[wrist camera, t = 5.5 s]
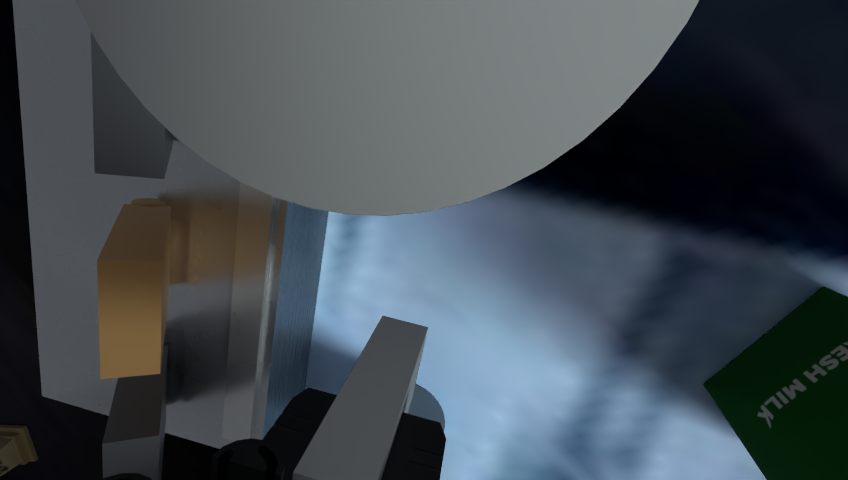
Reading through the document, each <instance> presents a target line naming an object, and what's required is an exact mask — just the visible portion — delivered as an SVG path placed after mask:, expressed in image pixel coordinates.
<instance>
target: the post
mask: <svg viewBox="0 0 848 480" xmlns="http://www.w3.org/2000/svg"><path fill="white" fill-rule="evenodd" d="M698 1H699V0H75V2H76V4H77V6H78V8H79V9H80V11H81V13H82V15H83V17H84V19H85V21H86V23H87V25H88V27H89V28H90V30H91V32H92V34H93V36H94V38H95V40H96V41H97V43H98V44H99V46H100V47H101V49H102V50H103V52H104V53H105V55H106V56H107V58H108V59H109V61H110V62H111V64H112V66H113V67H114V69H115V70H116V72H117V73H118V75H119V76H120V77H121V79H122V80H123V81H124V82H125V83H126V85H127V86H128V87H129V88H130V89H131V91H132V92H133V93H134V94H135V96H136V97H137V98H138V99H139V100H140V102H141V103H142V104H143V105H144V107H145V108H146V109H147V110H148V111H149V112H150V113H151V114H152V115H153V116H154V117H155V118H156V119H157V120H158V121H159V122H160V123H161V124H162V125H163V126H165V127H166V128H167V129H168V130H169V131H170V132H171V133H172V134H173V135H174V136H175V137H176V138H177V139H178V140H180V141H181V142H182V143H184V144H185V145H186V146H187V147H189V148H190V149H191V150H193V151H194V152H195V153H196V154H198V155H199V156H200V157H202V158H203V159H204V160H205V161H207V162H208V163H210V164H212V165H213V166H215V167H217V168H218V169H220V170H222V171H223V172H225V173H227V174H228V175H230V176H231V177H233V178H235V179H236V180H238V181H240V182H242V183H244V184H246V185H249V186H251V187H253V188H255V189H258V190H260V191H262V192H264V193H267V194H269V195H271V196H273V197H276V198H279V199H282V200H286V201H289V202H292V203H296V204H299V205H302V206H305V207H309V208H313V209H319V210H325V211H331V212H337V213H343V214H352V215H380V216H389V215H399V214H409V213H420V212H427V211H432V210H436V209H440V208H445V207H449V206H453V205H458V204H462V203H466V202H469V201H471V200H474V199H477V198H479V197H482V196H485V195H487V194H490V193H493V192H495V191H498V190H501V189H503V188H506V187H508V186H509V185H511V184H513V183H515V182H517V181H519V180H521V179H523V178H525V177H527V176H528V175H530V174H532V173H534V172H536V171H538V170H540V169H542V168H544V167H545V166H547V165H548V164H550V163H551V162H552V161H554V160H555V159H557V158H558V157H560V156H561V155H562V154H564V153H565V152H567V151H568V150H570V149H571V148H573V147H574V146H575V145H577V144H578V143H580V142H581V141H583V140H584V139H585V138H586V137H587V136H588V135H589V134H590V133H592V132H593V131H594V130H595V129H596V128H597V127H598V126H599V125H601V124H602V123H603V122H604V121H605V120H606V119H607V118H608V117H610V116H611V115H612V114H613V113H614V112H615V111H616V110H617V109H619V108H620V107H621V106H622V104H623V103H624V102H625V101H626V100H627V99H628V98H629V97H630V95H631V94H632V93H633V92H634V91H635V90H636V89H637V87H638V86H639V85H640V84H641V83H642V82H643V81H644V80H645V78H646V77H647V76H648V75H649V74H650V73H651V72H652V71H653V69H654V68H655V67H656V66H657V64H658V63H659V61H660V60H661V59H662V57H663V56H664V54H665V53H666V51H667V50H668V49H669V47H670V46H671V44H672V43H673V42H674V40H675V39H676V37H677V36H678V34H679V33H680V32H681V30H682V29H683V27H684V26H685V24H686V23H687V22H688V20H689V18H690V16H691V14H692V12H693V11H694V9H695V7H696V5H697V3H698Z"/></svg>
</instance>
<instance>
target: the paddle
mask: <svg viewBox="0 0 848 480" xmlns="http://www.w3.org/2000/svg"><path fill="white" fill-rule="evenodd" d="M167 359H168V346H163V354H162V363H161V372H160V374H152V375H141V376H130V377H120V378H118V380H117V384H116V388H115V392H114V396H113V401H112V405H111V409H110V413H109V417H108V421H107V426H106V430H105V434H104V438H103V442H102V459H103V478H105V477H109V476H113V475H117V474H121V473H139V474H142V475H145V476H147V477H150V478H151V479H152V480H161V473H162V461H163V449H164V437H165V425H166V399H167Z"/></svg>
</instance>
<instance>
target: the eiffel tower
mask: <svg viewBox="0 0 848 480" xmlns="http://www.w3.org/2000/svg"><path fill="white" fill-rule="evenodd" d="M37 460H38V456H37V453H36V451H35V448H34V445H33V442H32V440H31V437H30V434H29V431H28V429H27V426H17V425H0V476H2V475H3V474H5V473H6V472H8V471H10V470H11V469H13V468H14V467H16V466H17V465H18V464H21V465H26V464H27V463H28V462H30V461H33V462H35V461H37Z"/></svg>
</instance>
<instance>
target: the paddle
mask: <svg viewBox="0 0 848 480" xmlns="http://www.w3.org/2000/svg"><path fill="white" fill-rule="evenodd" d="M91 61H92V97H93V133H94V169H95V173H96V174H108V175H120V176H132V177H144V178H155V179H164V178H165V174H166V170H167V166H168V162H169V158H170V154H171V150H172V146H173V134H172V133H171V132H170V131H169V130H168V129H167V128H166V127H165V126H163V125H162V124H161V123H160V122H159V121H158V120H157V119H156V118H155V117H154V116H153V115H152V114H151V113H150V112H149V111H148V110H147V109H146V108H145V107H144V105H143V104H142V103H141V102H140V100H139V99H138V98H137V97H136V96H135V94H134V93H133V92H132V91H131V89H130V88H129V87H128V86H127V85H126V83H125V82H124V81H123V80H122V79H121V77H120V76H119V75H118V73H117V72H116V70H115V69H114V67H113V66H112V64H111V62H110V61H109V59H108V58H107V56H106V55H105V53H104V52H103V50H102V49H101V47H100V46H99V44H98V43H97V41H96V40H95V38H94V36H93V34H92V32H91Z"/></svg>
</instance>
